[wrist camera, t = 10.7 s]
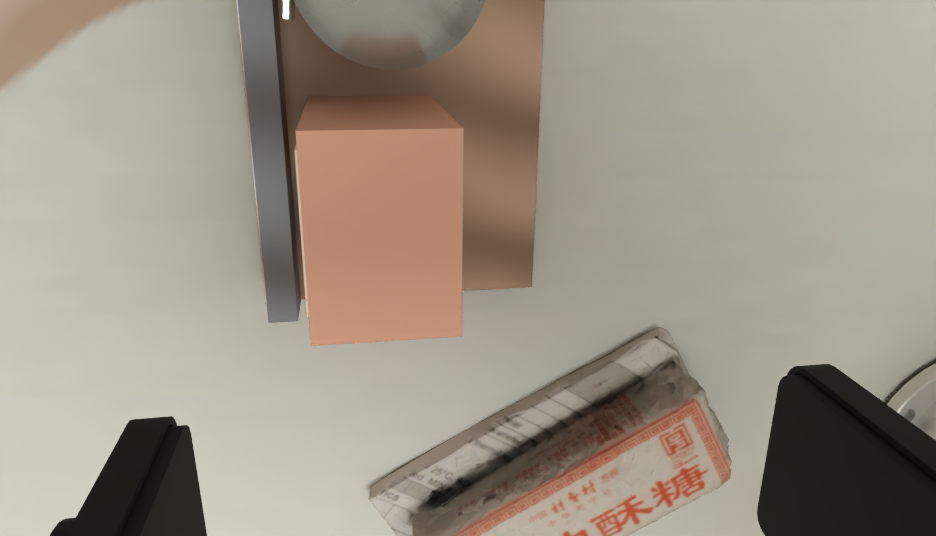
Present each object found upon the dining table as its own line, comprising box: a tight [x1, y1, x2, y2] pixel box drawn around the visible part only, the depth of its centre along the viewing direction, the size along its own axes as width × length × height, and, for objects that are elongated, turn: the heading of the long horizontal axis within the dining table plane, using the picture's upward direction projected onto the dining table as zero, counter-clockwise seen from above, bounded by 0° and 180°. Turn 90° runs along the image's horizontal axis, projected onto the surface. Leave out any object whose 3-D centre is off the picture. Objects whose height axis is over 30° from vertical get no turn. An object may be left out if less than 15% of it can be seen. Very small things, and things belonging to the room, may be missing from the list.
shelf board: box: [236, 0, 545, 323], centre depth 29 cm, size 17×12×4 cm
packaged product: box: [369, 327, 731, 536], centre depth 37 cm, size 18×5×10 cm
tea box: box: [294, 95, 464, 346], centre depth 26 cm, size 7×5×9 cm
